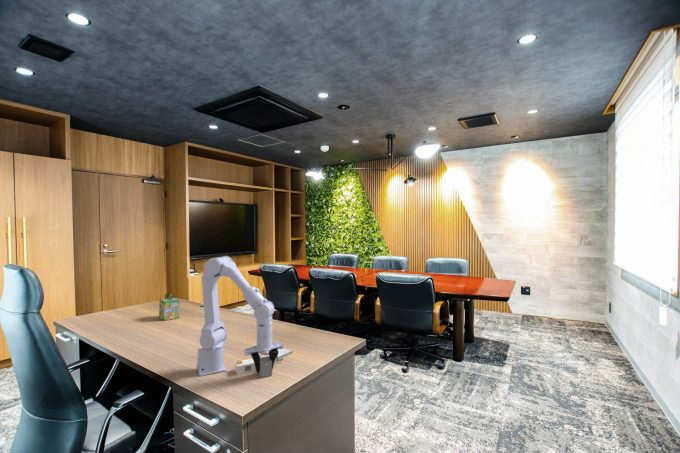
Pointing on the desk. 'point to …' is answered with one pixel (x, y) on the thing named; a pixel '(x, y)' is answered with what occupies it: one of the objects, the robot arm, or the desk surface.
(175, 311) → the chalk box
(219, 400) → the desk surface
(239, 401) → the desk surface
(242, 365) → the power strip
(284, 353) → the hard drive
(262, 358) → the block
